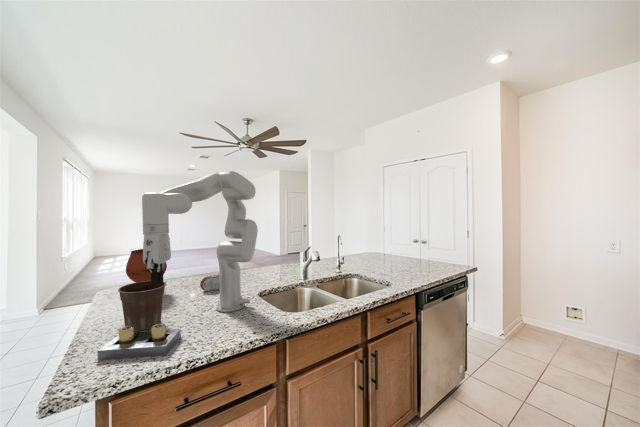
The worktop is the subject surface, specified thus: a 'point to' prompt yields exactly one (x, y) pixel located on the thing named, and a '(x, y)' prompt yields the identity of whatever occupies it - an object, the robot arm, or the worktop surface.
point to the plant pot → (142, 304)
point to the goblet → (139, 267)
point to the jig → (137, 344)
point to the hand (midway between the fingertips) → (157, 282)
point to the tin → (210, 283)
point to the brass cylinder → (158, 333)
